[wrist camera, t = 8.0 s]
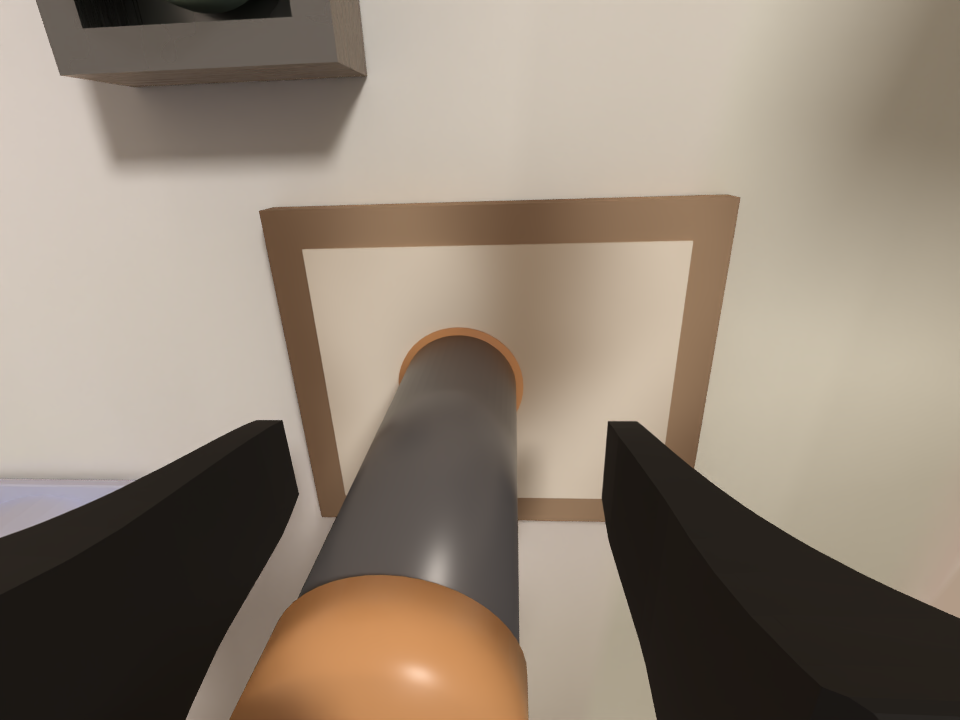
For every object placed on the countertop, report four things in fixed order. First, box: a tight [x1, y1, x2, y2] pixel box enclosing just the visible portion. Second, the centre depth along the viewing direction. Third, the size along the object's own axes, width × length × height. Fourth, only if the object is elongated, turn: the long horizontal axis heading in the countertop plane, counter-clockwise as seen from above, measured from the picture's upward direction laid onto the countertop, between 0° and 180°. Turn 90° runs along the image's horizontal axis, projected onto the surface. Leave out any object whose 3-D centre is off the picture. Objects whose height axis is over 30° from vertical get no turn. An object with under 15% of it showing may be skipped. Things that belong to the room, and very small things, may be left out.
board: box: [259, 195, 740, 522], centre depth 14 cm, size 12×10×1 cm
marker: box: [230, 335, 528, 720], centre depth 10 cm, size 3×3×10 cm
